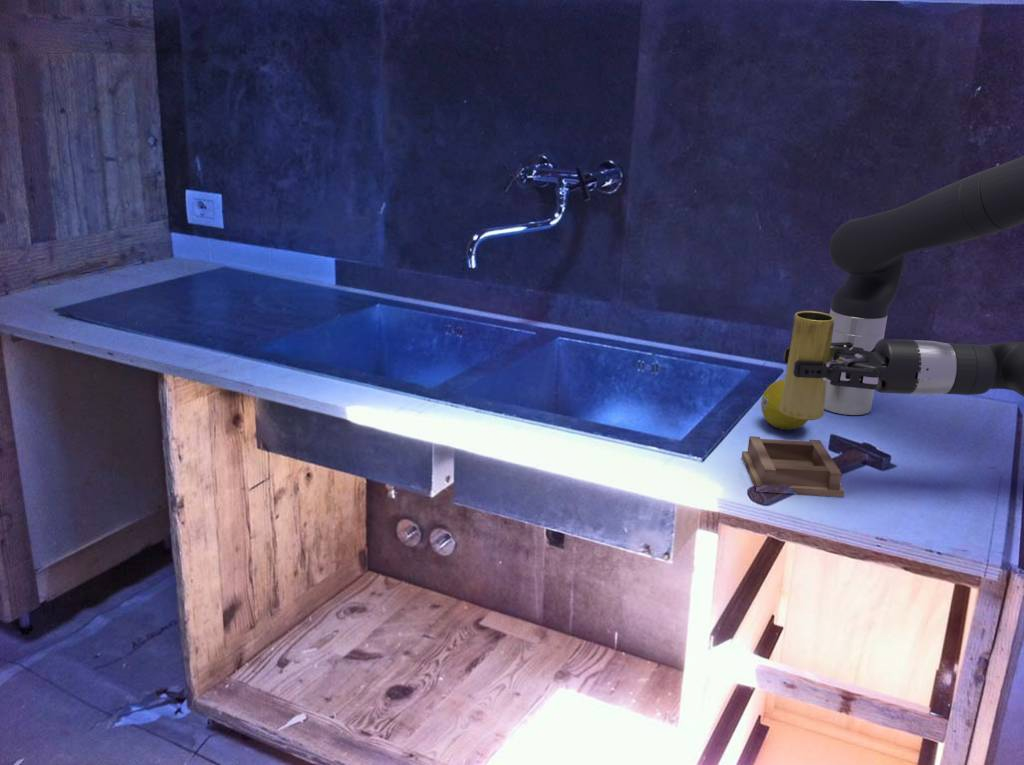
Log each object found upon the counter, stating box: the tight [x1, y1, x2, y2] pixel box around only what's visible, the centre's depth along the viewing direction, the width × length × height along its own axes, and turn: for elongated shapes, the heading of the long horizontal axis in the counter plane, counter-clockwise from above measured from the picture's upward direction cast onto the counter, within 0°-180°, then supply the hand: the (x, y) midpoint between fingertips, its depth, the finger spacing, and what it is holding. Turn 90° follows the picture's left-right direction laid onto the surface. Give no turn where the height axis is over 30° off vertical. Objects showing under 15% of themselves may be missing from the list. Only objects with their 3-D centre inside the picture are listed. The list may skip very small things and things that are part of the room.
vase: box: [779, 310, 834, 421], centre depth 130 cm, size 6×6×14 cm
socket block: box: [741, 435, 845, 498], centre depth 136 cm, size 12×12×4 cm
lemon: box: [760, 379, 809, 430], centre depth 153 cm, size 11×8×8 cm
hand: (789, 361), depth 130 cm, fingers closed on vase, 5 cm apart
